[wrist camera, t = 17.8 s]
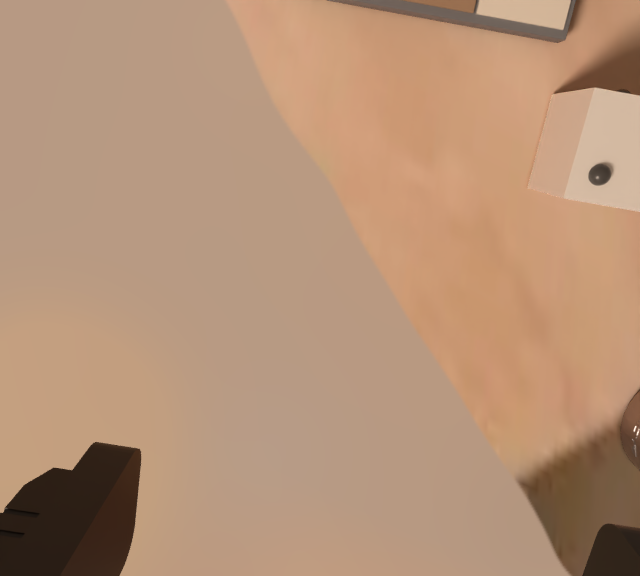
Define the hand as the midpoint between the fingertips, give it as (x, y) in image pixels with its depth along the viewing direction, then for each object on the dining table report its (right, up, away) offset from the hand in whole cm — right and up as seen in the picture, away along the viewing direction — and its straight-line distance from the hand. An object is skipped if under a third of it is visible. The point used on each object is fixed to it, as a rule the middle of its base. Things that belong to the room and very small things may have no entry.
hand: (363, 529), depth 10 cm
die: (+16, +13, +27) cm, 35 cm away
